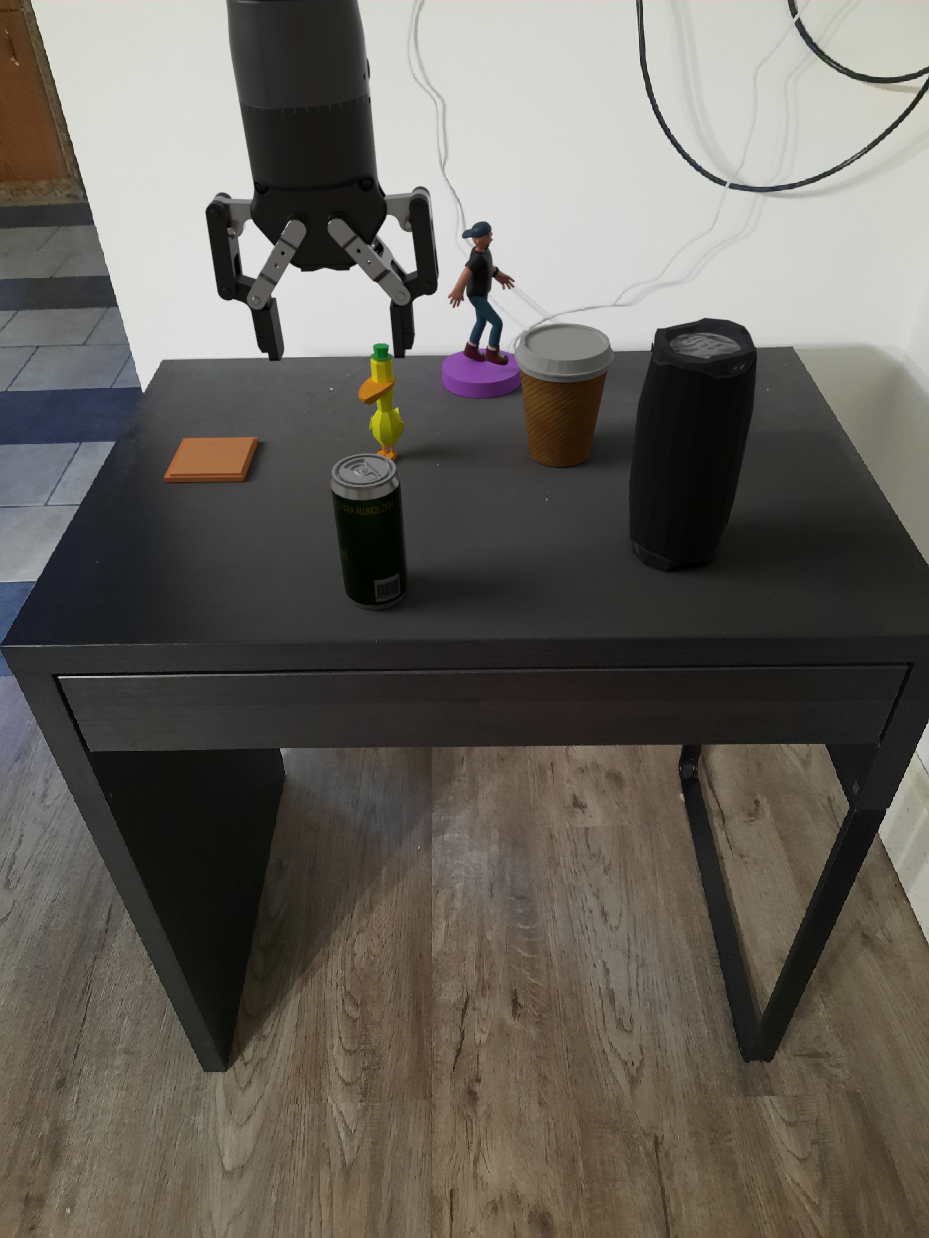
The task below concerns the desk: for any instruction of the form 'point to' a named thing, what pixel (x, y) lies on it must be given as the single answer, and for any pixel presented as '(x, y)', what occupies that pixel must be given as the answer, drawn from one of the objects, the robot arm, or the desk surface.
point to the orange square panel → (212, 460)
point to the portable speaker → (690, 440)
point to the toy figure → (382, 400)
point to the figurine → (481, 328)
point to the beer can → (370, 530)
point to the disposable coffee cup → (562, 389)
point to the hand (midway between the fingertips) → (339, 355)
